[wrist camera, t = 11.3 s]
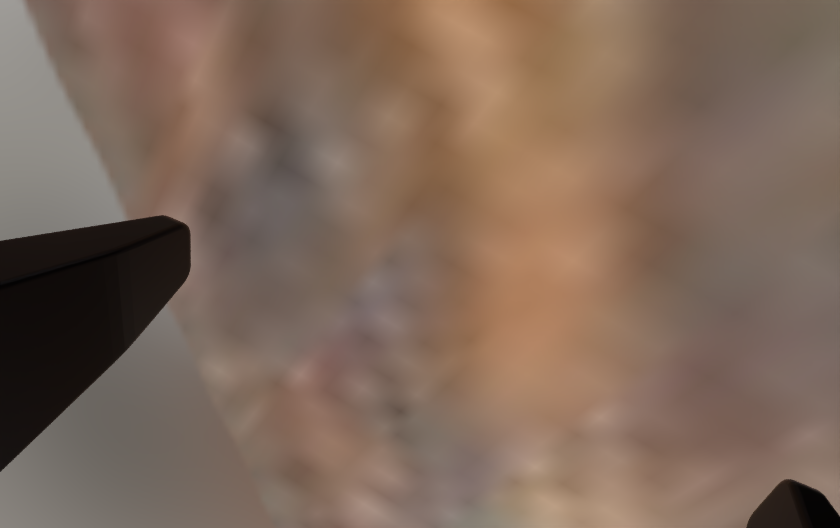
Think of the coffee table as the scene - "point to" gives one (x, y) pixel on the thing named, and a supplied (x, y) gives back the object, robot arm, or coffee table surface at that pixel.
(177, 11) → the coffee table surface
